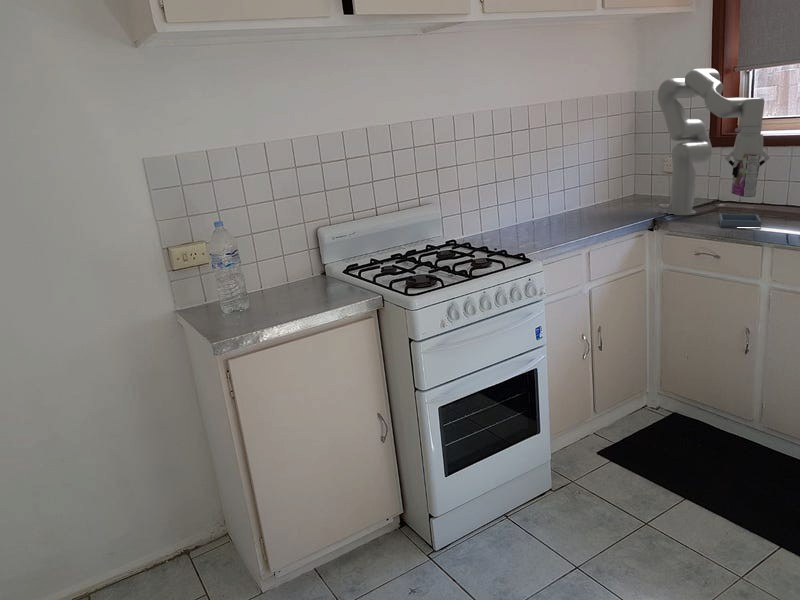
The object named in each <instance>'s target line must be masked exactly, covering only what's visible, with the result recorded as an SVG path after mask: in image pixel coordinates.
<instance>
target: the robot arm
mask: <svg viewBox="0 0 800 600" xmlns="http://www.w3.org/2000/svg"><path fill="white" fill-rule="evenodd" d="M723 90H724V84H723V82H721V75H720V73H719V71H718V70H716V69H715V68H695V69H692V70H690V71H688V72H687V74H685V76H684V77H671V78H669V79H666V80H664V81H662V83H661V84H660V85H659V88H658V91H657V101H658V106H659V107H660V109H661V112H662V114H663V117H664V120H665V123H666V128H667V131H668V135H669V138H670V139H671V140H672V141H673V142H679V143H677V144H676V145H675V146H674V147H673V148H672V149H671V150H672V151H671V161H672V163H671V164H672V175H671V187H670V193H671V197H670V198H669V199H670V200H669V203H666V204H664V203H663V204H661V203H659V205H658V209H663V210H665V209H666V210H665V214H666V213H670V214H674V215H673V216H693V215H696V214H697V211H696V210H694V209H693V207H694V205H693V197H694V198H695V194H694V187H695V188H696V170H695V167H694V164H701V163H706V162H708V161H709V160H710V159H711V158H712V155H713V147H712V143H711V140H710V137H709V132H708V129H707V126H706V125H705V122H703V120H701V119H698V118H688V117H687V114H686V110H685V108H684V106H683V105H682V103H680V102H679V100H677V99H690V98H695V97H698V96H699V97H701V98H702V99H703V100H704V101H703V102H704V104H705V107H706V109H707V110H708V111H710V113H712V114H713V115H715V116H716V117H719V118H723V119H730V118H732V119H733V118H740V121H739V127H736V128H735V130H734V132H737V133H738V134H737V135H736V137H735V141H734V146H733V150H732V151H731V152H730V153H728V154H727V155H726V156H724V160H726V162H727V163H728V164H729V165H731V167H732V174H731V175H732V176H733V175H734V178H736V176H737V164H738V162H739V161H742V160H743V156H744V154H759V155H760V158H759V167H758V172H759V169H760V167H761V166H762V165H764V164H765V163H766V162H767V161H769V160H770V158H771V157H770V156H769V155H768V154H767V153H766V152H765V151H764V134H761V133H762V125H763V119H764V118H763V117H764V108H765V99H764V98H763V97H724V96H722V93H723ZM731 158H732V159H733V160H734V161H733V160H732V159H731ZM762 158H763V159H762ZM758 176H759V174H758V175H757V177H758ZM670 214H669V215H670Z"/></svg>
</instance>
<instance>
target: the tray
mask: <svg viewBox="0 0 800 600" xmlns="http://www.w3.org/2000/svg"><path fill="white" fill-rule="evenodd" d="M718 223H719V227H720V228H721V229H738V228H737V227H761V226H762V221H761V218H760V217H759V215H758V214H745V213H744V214H743V213H742V214H741V213H740V214H738V213H735V214H734V213H719V216H718ZM761 228H762V227H761Z"/></svg>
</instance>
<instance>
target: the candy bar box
mask: <svg viewBox="0 0 800 600" xmlns="http://www.w3.org/2000/svg"><path fill="white" fill-rule="evenodd" d="M759 158H760V155H759V154H744V156H743V160H742V161H739V162H738V164H737V176H736V178H734V175H732V184H731V194H732V195H733V194H734V195H736V196H740V197H743V198H752V197H756V192H757V191H756V190H757V182H758V176H759V171H758V167H759V162H760V160H759ZM759 168H760V167H759ZM757 175H758V176H757Z"/></svg>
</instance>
